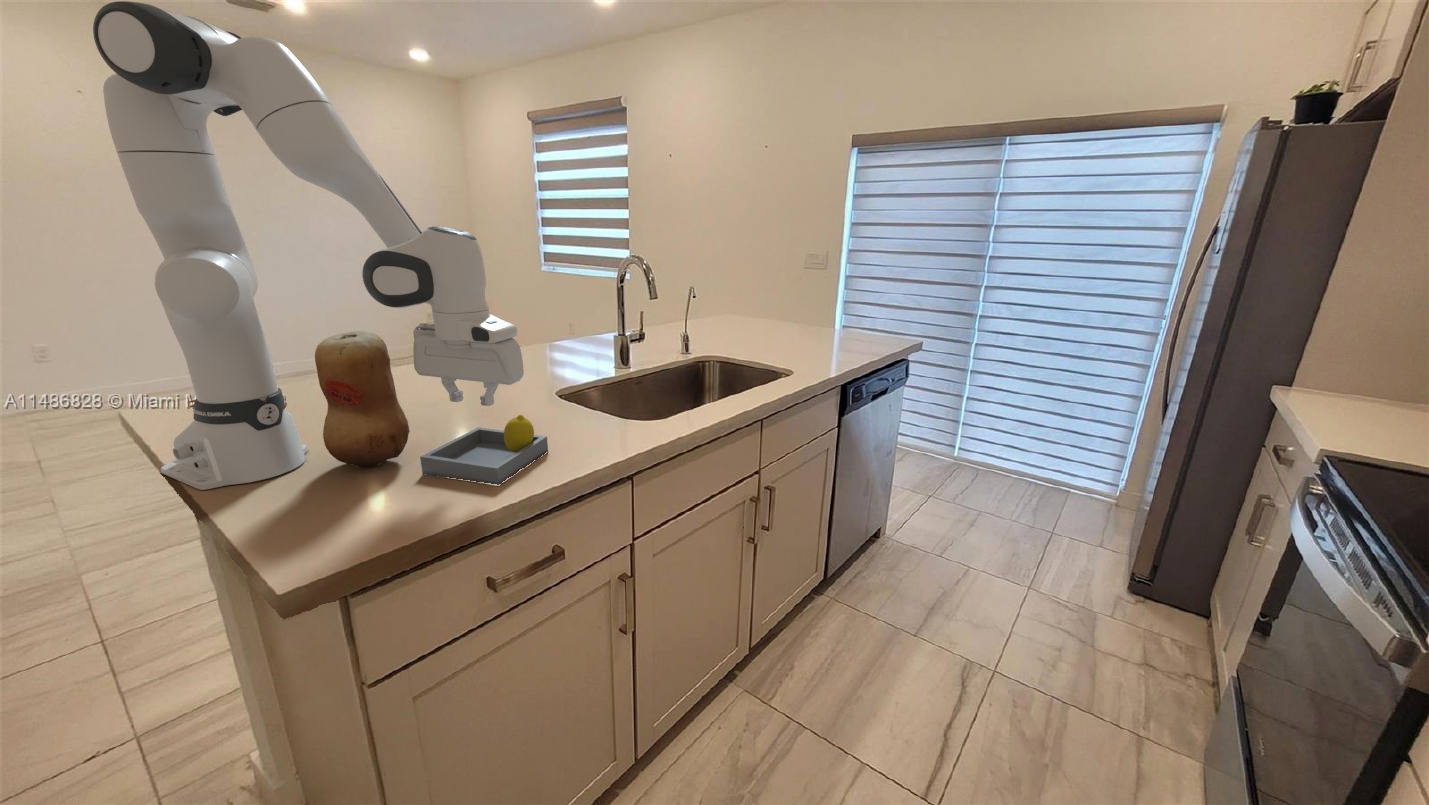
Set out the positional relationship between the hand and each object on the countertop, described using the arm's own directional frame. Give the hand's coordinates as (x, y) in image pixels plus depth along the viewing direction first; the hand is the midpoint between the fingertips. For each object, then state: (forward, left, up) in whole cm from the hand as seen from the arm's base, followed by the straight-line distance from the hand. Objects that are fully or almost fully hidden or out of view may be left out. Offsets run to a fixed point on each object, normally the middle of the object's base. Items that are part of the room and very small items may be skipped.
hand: (472, 403), depth 99 cm
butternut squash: (-21, -4, -13) cm, 25 cm away
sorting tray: (-1, +3, -13) cm, 14 cm away
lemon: (+4, +8, -4) cm, 10 cm away
